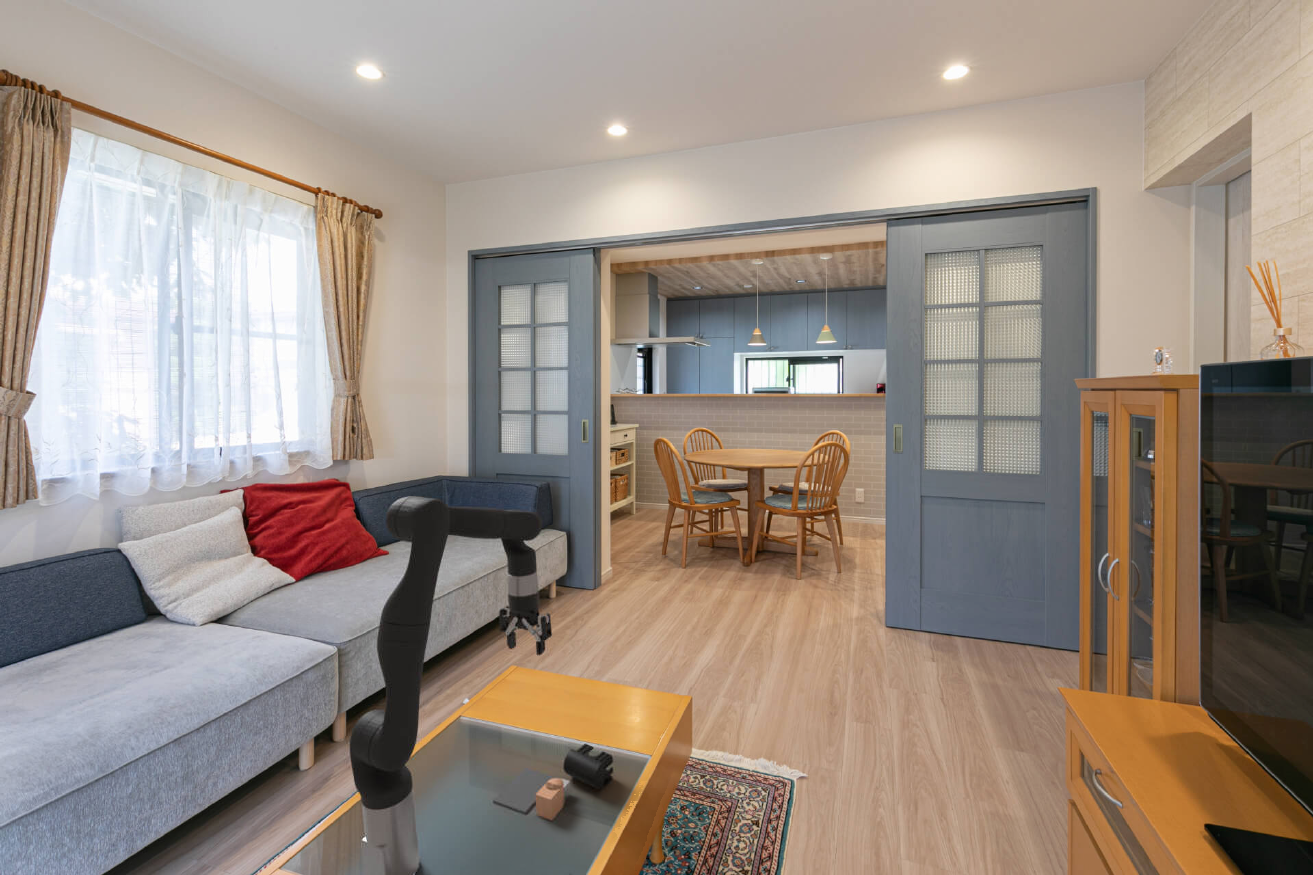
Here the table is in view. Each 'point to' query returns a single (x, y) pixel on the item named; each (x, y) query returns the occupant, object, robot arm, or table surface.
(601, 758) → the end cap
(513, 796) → the mat
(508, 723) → the table surface
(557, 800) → the plug
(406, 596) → the robot arm
